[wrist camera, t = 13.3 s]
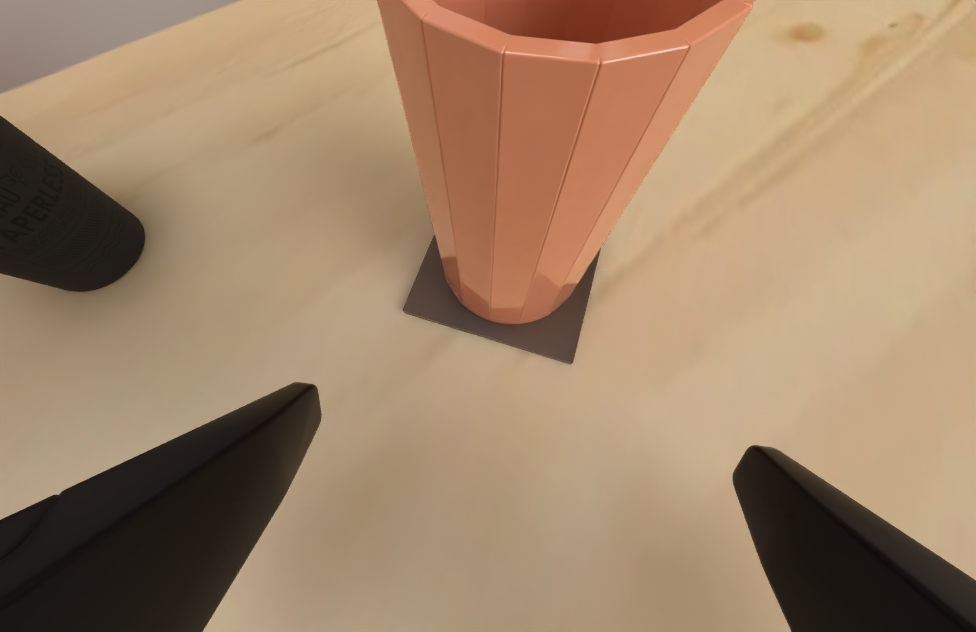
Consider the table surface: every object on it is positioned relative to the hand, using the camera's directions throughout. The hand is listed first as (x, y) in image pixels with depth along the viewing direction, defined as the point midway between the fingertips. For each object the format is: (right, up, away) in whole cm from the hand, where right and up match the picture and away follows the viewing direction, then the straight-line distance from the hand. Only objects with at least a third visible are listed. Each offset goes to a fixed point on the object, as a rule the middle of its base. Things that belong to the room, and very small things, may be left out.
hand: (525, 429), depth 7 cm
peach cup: (0, +5, +10) cm, 12 cm away
